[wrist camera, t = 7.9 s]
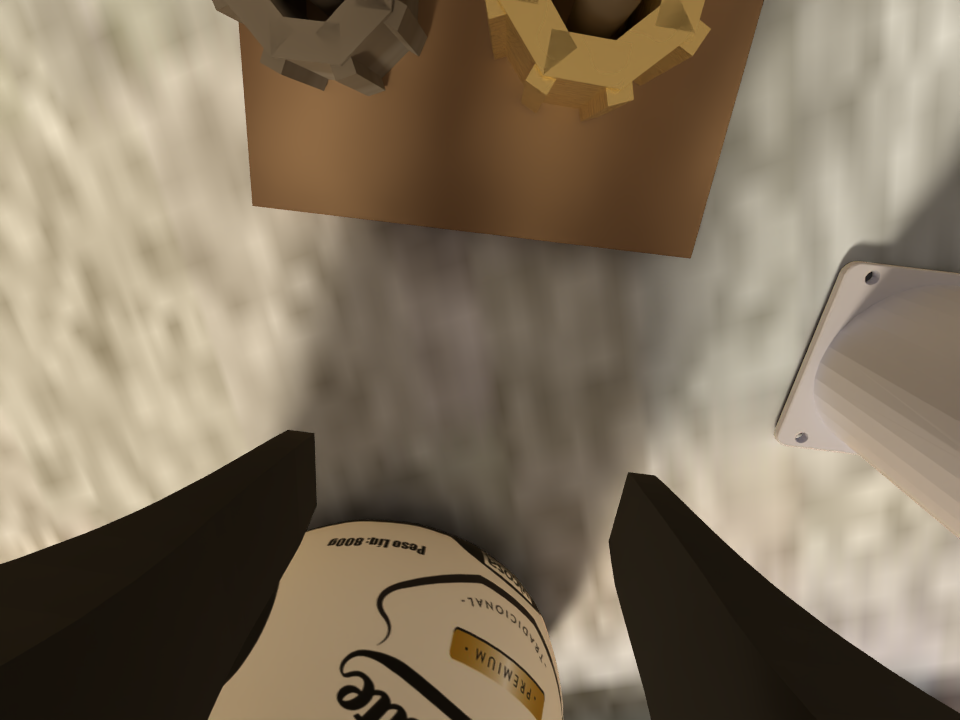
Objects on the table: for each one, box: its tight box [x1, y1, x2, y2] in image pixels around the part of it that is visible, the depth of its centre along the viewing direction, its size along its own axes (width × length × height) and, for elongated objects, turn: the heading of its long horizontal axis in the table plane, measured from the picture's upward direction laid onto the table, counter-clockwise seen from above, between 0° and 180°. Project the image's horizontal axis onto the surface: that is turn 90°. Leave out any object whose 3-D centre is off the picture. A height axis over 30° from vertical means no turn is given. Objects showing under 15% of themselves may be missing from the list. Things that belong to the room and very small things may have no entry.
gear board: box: [212, 0, 764, 258], centre depth 14 cm, size 16×11×5 cm
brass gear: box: [485, 0, 711, 121], centre depth 12 cm, size 5×5×5 cm
